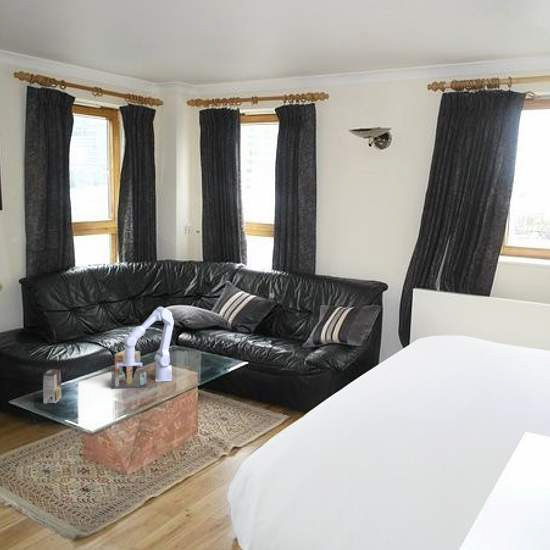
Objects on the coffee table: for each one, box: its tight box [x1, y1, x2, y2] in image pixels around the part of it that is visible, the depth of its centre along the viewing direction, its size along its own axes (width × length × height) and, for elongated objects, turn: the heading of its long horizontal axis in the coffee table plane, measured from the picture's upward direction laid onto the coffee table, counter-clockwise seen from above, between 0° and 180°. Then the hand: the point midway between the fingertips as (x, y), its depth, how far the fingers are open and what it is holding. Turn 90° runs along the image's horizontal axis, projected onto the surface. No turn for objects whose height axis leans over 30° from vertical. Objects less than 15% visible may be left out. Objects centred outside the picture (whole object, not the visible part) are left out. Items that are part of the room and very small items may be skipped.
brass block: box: [126, 373, 133, 385], centre depth 346 cm, size 3×7×4 cm, turn 13°
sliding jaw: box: [139, 371, 147, 385], centre depth 348 cm, size 4×10×5 cm, turn 13°
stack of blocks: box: [114, 349, 141, 375], centre depth 374 cm, size 21×6×12 cm, turn 164°
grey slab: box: [111, 372, 148, 390], centre depth 346 cm, size 20×12×6 cm, turn 103°
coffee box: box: [42, 368, 62, 404], centre depth 316 cm, size 9×6×16 cm
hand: (129, 378), depth 346 cm, fingers closed on brass block, 3 cm apart
